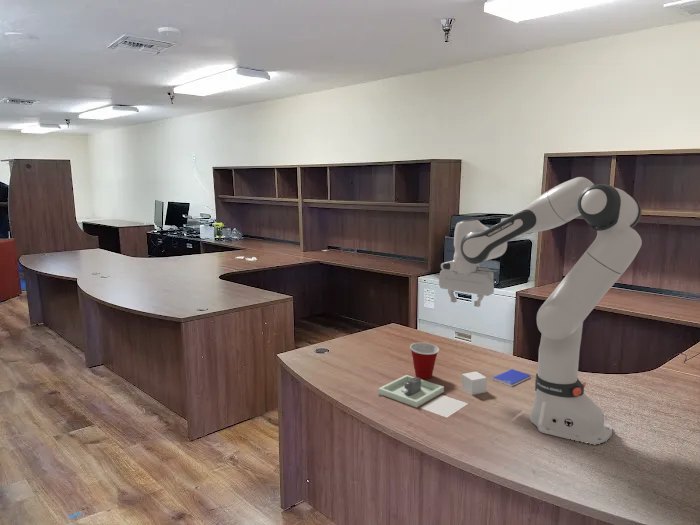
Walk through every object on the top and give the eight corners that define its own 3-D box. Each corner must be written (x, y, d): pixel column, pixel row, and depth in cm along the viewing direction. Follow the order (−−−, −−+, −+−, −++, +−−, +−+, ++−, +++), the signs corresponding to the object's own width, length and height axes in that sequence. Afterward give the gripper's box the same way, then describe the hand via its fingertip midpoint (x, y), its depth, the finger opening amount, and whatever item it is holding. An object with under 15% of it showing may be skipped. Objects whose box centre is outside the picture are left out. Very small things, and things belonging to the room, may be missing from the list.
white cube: (486, 394, 171) (486, 377, 170) (471, 397, 169) (472, 380, 168) (475, 387, 176) (476, 371, 175) (461, 390, 174) (461, 373, 173)
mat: (468, 405, 162) (468, 403, 162) (446, 419, 153) (446, 417, 153) (442, 396, 169) (442, 394, 169) (420, 409, 160) (420, 407, 160)
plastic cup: (430, 386, 178) (430, 353, 176) (404, 379, 184) (404, 348, 182) (444, 376, 186) (444, 345, 184) (418, 370, 193) (418, 340, 191)
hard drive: (511, 383, 176) (530, 375, 184) (492, 376, 183) (511, 368, 190) (511, 388, 177) (530, 379, 184) (491, 380, 183) (511, 372, 191)
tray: (443, 393, 171) (443, 386, 171) (416, 409, 160) (416, 401, 160) (406, 381, 182) (406, 374, 182) (378, 395, 171) (378, 388, 170)
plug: (415, 387, 175) (415, 376, 175) (422, 389, 173) (422, 378, 173) (399, 395, 169) (399, 384, 168) (406, 398, 167) (406, 387, 166)
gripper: (498, 267, 169) (496, 307, 171) (446, 261, 183) (445, 298, 185) (489, 270, 164) (487, 310, 167) (436, 263, 178) (436, 301, 181)
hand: (465, 304), depth 176 cm, fingers open, 8 cm apart
